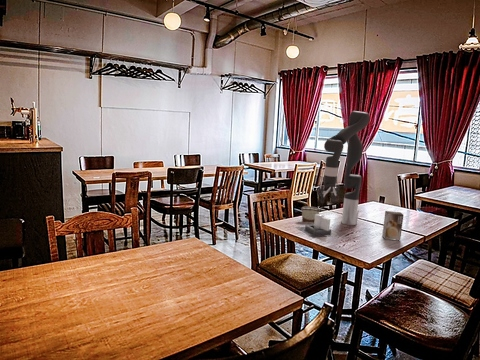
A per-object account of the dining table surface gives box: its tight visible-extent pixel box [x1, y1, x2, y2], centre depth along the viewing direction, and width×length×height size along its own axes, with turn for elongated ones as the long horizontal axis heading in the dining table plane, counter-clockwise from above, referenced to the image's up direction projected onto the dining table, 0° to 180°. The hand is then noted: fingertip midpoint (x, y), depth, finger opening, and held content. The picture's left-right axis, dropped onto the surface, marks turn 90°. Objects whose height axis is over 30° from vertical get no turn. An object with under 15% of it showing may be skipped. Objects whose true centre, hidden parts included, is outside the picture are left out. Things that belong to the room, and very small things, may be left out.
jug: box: [313, 213, 331, 231], centre depth 220 cm, size 11×5×10 cm, turn 33°
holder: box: [295, 224, 342, 239], centre depth 223 cm, size 20×20×4 cm
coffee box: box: [382, 210, 404, 241], centre depth 221 cm, size 9×6×16 cm
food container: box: [300, 205, 321, 223], centre depth 245 cm, size 12×6×10 cm, turn 84°
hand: (327, 202), depth 215 cm, fingers open, 8 cm apart
